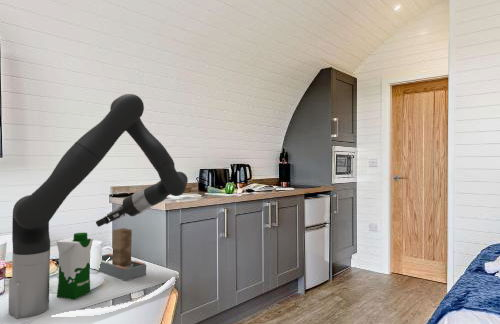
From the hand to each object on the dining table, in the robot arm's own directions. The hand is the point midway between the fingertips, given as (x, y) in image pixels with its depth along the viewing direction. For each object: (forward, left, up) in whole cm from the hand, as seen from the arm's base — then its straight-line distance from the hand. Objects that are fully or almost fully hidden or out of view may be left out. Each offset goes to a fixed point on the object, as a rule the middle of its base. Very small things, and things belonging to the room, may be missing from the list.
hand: (102, 220), depth 133 cm
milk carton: (-15, -10, -22) cm, 28 cm away
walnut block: (+8, -1, -18) cm, 20 cm away
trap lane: (+8, +2, -21) cm, 23 cm away
